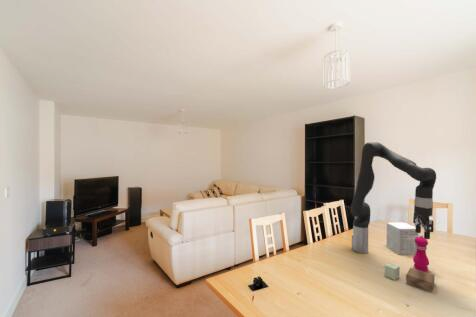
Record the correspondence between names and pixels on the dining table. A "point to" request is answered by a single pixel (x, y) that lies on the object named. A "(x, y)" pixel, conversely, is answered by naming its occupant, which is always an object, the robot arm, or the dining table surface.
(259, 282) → the black irregular piece
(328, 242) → the dining table surface
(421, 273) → the walnut box
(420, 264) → the pepper mill
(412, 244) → the supplement box
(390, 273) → the green block
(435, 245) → the dining table surface
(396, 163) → the robot arm
